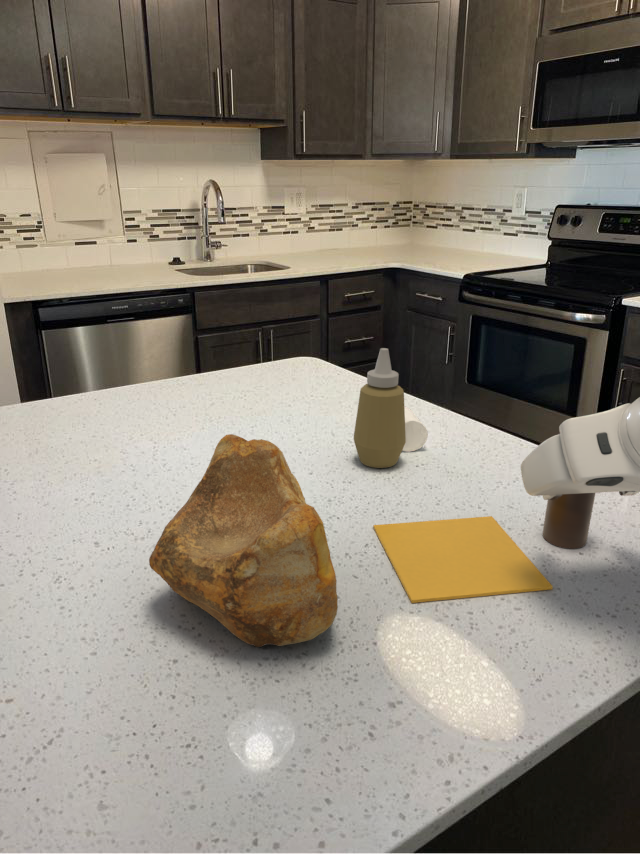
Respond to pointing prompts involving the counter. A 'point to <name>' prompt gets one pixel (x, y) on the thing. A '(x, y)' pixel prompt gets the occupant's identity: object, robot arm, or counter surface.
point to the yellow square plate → (457, 559)
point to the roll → (414, 431)
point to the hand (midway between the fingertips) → (586, 491)
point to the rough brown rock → (251, 548)
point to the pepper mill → (568, 520)
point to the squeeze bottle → (380, 416)
